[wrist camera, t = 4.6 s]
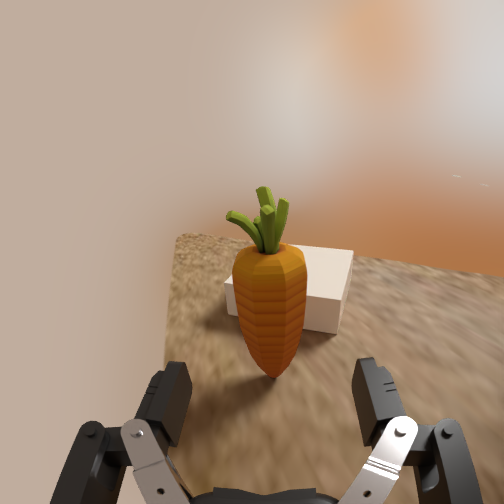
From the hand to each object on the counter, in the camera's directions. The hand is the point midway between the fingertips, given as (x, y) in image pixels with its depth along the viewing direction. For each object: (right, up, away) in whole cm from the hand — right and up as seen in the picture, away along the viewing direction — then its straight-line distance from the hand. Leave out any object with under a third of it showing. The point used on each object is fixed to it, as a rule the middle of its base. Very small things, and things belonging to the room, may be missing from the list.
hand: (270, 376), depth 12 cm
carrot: (+1, -5, +10) cm, 11 cm away
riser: (+4, 0, +21) cm, 22 cm away
